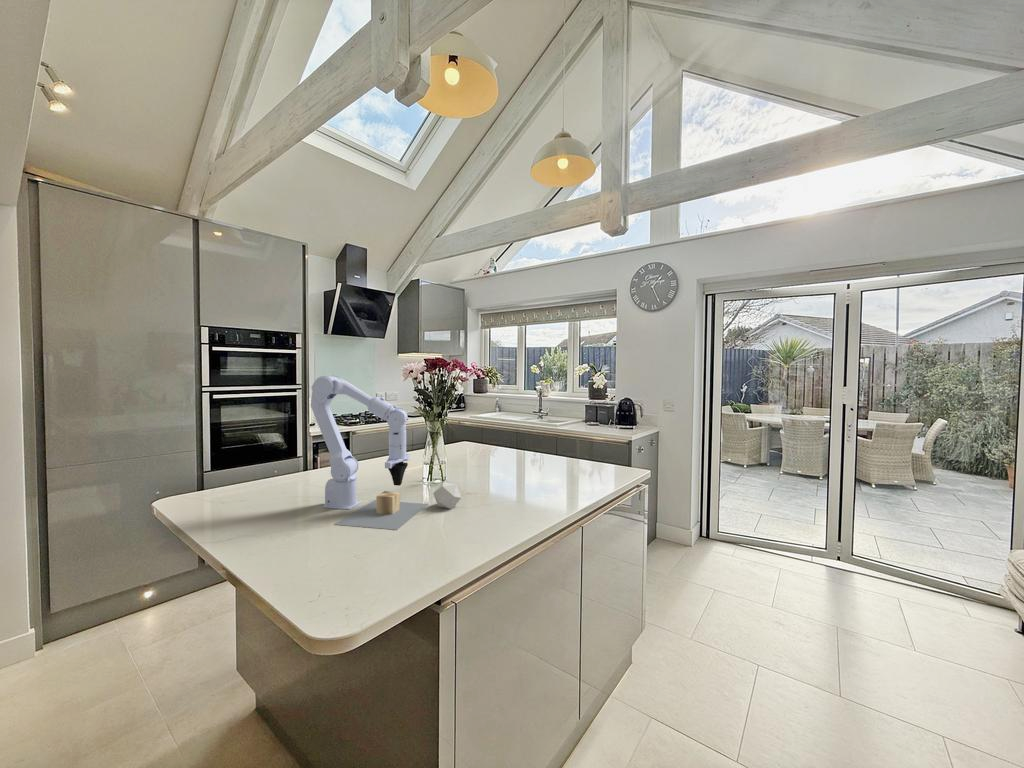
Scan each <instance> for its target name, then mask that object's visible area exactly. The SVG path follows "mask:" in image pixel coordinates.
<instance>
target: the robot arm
mask: <svg viewBox="0 0 1024 768" xmlns="http://www.w3.org/2000/svg"><path fill="white" fill-rule="evenodd" d="M310 388H311V390H312V391H311V400H310V408H311V410H312V412H313V415H314V418H315V420H316V423H317V425H318V428H319V430H320V432H321V435H322V437H323V441H324V443H325V445H326V447H327V449H328V452H329V455H330V457H329V465H330V476H331V478H330V479H328V480H327V481H326V483H325V486H324V505H323V508H325V509H339V510H351V509H353V508H354V507H356V506H357V505H359V504H361V503H362V500H357V475H356V472H357V471H358V470H359V462H358V460H357V459H356V458H355V457H354V456H353V455H352V452H351V451H350V450H349V449H347V446H346V445H345V441H344V439H343V436H342V435H341V431H340V429H339V427H338V424H337V422H336V419H335V417H334V414H333V411H332V410H331V407H330V406H331V403H332V401H333V400H334V398H336V396H337V395H346V396H348V397H350V398H351V399H354V400H355V401H357V402H359V403H361V404H363V405H365V406H366V407H367V410H368V412H370V413H372V414H373V415H375V416H376V417H378V418H380V419H381V420H383V421H384V422H385V421H386V423H387V424H388V427H389V428H388V458H387V460H386V461H385V462H384V468H385V469H388V471H389V473H390V476H391V480H392V483H393V485H394V486H401V485H402V483H403V478H404V475H405V472H406V470H407V467H408V466H409V464H408V461H410V453H407V424H406V423H407V421H408V419H409V418H408V416H409V415H408V413H407V411H405V410H404V409H403V408H399V407H398V406H397V405H396V404H392V403H390V402H388V401H386V398H385V397H383V396H382V397H380V396H376V397H372V395H369V394H368V393H367V392H364V391H363V390H362V389H360V388H358V387H357V386H355V385H353V384H352V383H351V382H348V381H347V380H345V379H343V378H340V377H339V376H337V375H330V376H328V375H327V376H326V375H322V376H319V377H317V378H316V379H315V381H314V382H313V383H312V385H311V387H310Z"/></svg>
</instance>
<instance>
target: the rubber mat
mask: <svg viewBox="0 0 1024 768" xmlns="http://www.w3.org/2000/svg"><path fill="white" fill-rule="evenodd" d="M428 505H429V503H421V502H420V503H419V502H408V501H407V502H406V501H404V502H403V501H400V509H399V510H398V511H396V512H395V513H394V514H382V513H376V499H375V500H372V501H371V502H369V503H367V504H365V505H364V506H362V507H361V508H359V509H357V510H355V511H354V512H352V513H351V514H349V515H347V516H345V517H343V519H341V520H339V521H337V522H335V523H334V524H333V525H334V526H339V527H340V526H341V527H352V528H353V527H354V528H364V529H376V530H377V529H378V530H389V531H398V530H399V529H400V528H402V526H404V525H405V524H406V523H408V522H409V521H410V520H411V519H413V518H414V517H415V516H416V515H418V514H419V513H420V512H421V511H422V510H424V509H425V508H426V507H427V506H428Z"/></svg>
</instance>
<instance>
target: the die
mask: <svg viewBox="0 0 1024 768" xmlns="http://www.w3.org/2000/svg"><path fill="white" fill-rule="evenodd" d="M432 494H433V497H434V500H435V503H436V505H437V507H439V508H443V509H449V510H452V509H454V507H455V506H456V505H457V504H458V503H459V501H460V500H461V499H462V495H461V493H460V491H459V488H458V485H457V483H456V484H455V483H450V482H442V484H440V486H438V488H437V489H436V490H435V491H434V492H433V493H432Z"/></svg>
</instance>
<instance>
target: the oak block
mask: <svg viewBox="0 0 1024 768" xmlns="http://www.w3.org/2000/svg"><path fill="white" fill-rule="evenodd" d="M375 500H376V513H382V514H394V513H395V512H396V511H398V510H399V509H400V502H401V491H390V490H389V491H388V490H387V491H386V490H384V491H382V492H381V493H379V494H378V495H376V499H375Z"/></svg>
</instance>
